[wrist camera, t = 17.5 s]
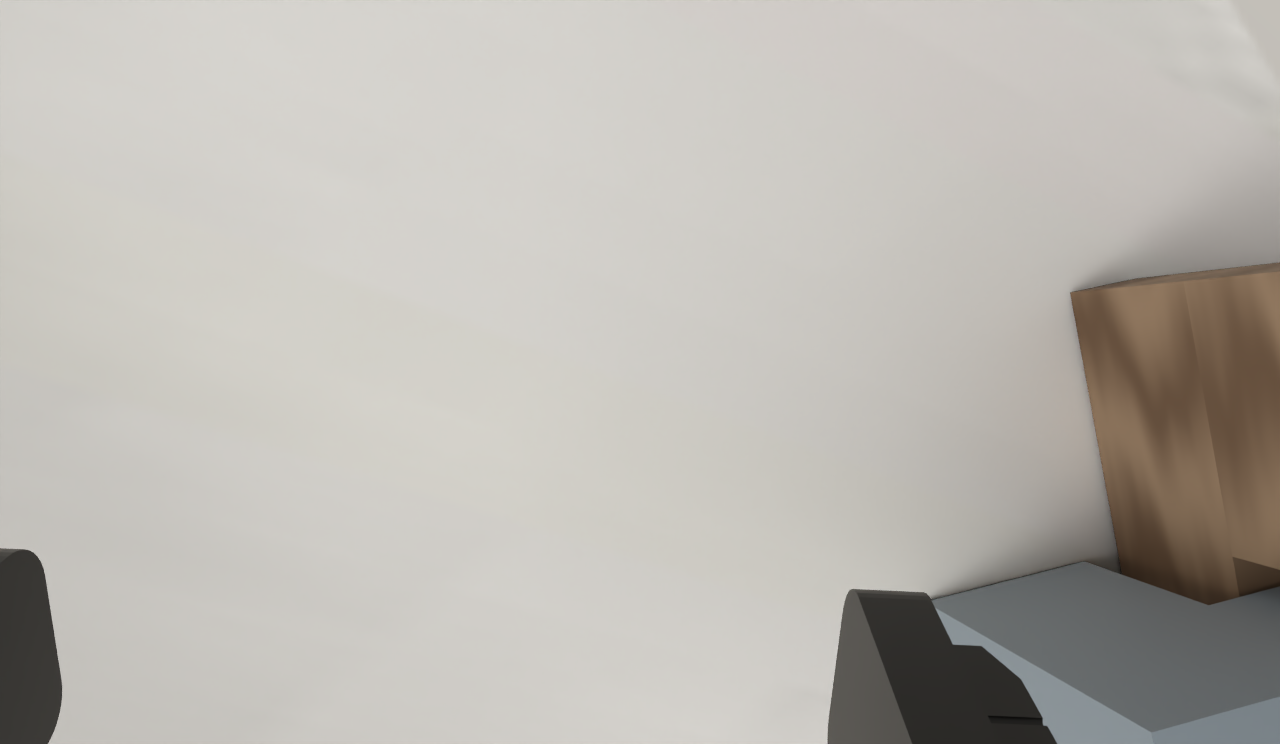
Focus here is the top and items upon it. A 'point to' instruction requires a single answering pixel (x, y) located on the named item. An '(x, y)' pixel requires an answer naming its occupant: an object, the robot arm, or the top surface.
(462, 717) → the top surface
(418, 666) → the top surface
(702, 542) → the top surface
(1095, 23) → the top surface
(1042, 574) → the slate plate
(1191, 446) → the walnut board
